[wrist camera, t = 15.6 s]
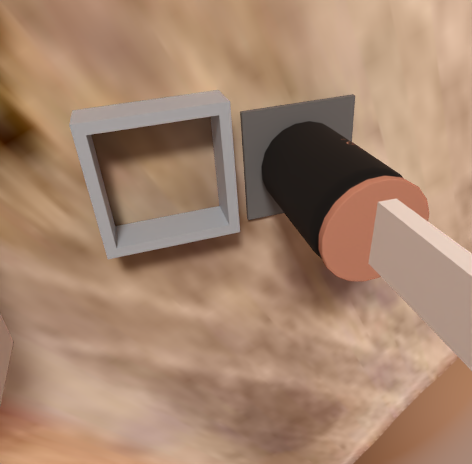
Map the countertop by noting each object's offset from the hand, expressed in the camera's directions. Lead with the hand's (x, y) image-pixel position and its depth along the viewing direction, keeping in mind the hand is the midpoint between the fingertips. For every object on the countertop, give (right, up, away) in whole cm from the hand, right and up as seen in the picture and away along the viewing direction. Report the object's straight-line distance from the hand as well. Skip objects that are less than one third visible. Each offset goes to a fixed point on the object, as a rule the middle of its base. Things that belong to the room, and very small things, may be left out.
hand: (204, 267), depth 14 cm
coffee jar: (+9, +10, +38) cm, 41 cm away
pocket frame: (-8, +9, +34) cm, 36 cm away
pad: (+9, +10, +39) cm, 41 cm away
